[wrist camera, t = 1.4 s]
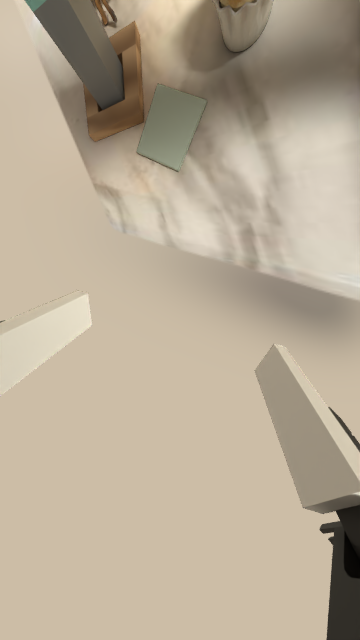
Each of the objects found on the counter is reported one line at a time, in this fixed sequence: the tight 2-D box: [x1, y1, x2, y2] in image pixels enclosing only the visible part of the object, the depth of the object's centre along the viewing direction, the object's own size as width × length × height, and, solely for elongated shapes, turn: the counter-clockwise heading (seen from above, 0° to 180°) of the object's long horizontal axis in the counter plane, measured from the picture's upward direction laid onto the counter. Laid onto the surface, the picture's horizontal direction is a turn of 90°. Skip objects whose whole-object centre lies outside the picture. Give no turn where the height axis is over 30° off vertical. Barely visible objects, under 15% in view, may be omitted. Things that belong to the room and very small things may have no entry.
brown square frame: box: [83, 21, 144, 142], centre depth 28 cm, size 12×12×2 cm
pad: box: [137, 84, 207, 172], centre depth 27 cm, size 10×10×1 cm
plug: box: [25, 0, 125, 110], centre depth 23 cm, size 5×5×13 cm
